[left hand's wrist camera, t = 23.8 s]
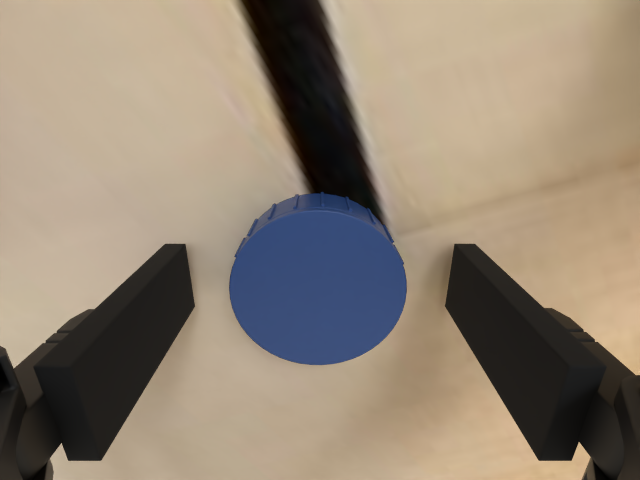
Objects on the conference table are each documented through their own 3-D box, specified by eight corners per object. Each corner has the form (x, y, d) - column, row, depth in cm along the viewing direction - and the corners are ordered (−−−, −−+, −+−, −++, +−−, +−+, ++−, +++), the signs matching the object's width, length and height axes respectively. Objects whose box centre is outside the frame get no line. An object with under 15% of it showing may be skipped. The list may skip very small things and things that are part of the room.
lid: (260, 341, 16) (251, 377, 14) (220, 206, 14) (203, 226, 12) (401, 320, 16) (414, 354, 14) (387, 177, 13) (400, 192, 11)
